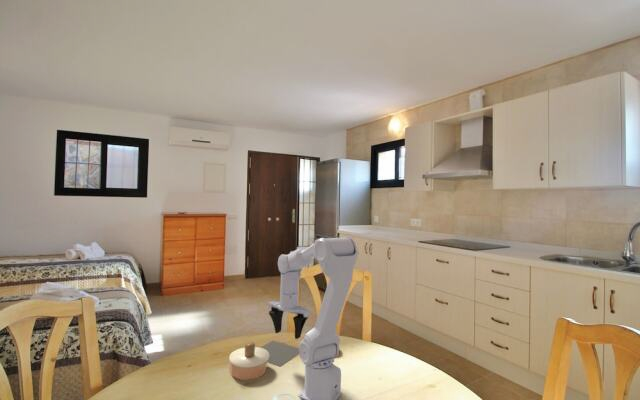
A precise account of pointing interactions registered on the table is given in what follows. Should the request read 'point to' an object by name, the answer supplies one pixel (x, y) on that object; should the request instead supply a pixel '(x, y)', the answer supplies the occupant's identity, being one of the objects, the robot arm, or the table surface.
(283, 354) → the mat
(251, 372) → the bowl
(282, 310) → the robot arm
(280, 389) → the table surface
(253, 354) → the lid
